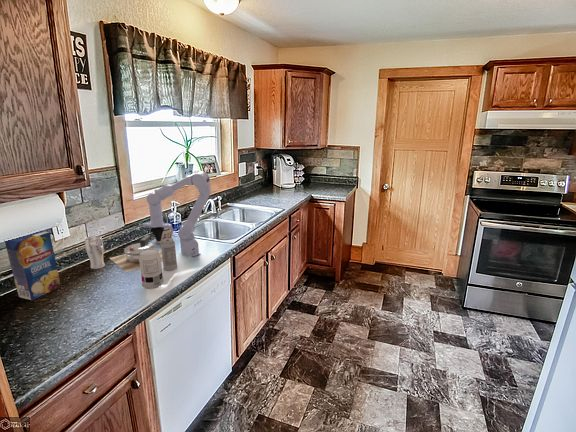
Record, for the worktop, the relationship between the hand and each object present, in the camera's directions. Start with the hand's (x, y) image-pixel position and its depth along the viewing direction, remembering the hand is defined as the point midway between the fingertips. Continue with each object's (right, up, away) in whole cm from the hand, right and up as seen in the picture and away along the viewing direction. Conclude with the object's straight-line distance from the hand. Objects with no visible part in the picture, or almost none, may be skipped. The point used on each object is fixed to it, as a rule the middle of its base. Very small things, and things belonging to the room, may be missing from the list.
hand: (159, 240), depth 170 cm
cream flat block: (-7, -8, -6) cm, 12 cm away
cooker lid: (-7, -3, -5) cm, 9 cm away
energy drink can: (+12, -13, -16) cm, 24 cm away
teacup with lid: (-3, -2, +19) cm, 20 cm away
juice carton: (-34, -18, -36) cm, 53 cm away
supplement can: (+9, -17, -30) cm, 35 cm away
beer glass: (-23, -12, -15) cm, 30 cm away
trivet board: (-7, -9, -6) cm, 13 cm away
